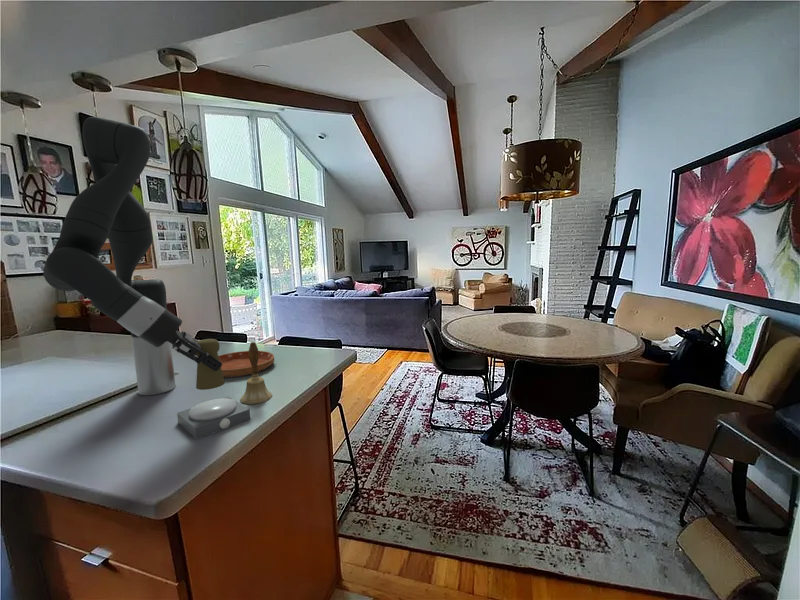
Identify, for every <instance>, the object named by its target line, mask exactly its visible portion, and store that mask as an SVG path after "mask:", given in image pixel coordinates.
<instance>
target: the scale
mask: <svg viewBox="0 0 800 600" xmlns="http://www.w3.org/2000/svg"><path fill="white" fill-rule="evenodd" d="M176 414H177V415H176V416H177V423H178V424H179V425H180V426H181V427H182V428H183V429H185V430H186V431H187V432H188V433H189V434H190V435H191V436H192V437H193V438H194V439H195V440H198V439H201V438H204V437H206V436H207V437H208V435H212V434H214V433H217V432H220V431H222V430H225V429H228V428H230V427H232V426H233V427H234V426H235V425H238V424H240V423H243V422H246V421H249V420H251V410H250V408H248V407H247V406H245V405H244V404H243V403H241V402H238V401H237V400H235V399H234V398H232V397H230V396H226V397H223V398H215V399H210V400H205V401H203V402H200V403H198V404H196V405H194V406H193V407H191V408H188V409H184V410H182V411H177V412H176Z"/></svg>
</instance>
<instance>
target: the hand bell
mask: <svg viewBox="0 0 800 600" xmlns="http://www.w3.org/2000/svg"><path fill="white" fill-rule="evenodd" d="M249 344H250V345H249V348H248V351H249V360H250V362H251V366H252V374H251V377H250V378H248V379H247V380H246V386H245V390H244V391H245V392H244V394H243V395H242V396H241V398H240V399H239V401H240V403H241V404H243V405H257V404H261V403H264V402H265V403H266V402H267V401H269V400H271V399H272V397H273V394H272V392H271V391H270V390H268V388H267V386H266V383H265V379H264V377H263V376H262V377H261V376H259V372H258V366H257V364H258V359H259V351H260V350H259V348H258V346H257V343H256V342H255V341H251V342H249Z"/></svg>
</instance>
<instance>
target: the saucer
mask: <svg viewBox="0 0 800 600" xmlns="http://www.w3.org/2000/svg"><path fill="white" fill-rule="evenodd" d="M258 351H259V359H258V364H257V366H258V373H259V372H261V370H262V371H263V370H265V368H266V369H267V368H268V367H269V366H271V365H273V363H274V362H275V354H273V353H272V352H270V351H264V350H258ZM218 357H219V361H220V362H221V363H222V366H221V369H222V373H223V378H234V377H236V376H237V377H243V375H244V376H249V375H252V366H251V362H250V360H249V350H244V351H243V350H241V351H235V352H229V353H223V354H218ZM248 374H249V375H248Z"/></svg>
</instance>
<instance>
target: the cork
mask: <svg viewBox="0 0 800 600" xmlns="http://www.w3.org/2000/svg"><path fill="white" fill-rule="evenodd" d="M197 343H198V344H200V345H201V349H202V350H204V351H205V352H208V354H209V355H211V356H212V357H214V358H215V359H217V360H218V361H219V357H218V356H219V354H218V352H219V350H220V342H219V341H218V340H217V339H215V338H205V339H201V340H198V342H197ZM196 354H197V355H198V357H199V355H200V354H201V353H199V352H197V353H196ZM196 365H197V366H196V381H195V388H196V389H197V390H199V391H200V390H202V391H205V390H212V389H217V388H219V387H222V386H224V385H225V377H223V373H222V369H221V367H220V368H219V369H218V370H217V371H214V370H213V369H211V368H209V367H208V366H206V365H205V364H203V363H200V364H199V363H196Z"/></svg>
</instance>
